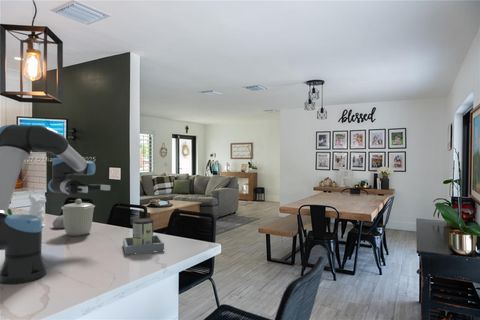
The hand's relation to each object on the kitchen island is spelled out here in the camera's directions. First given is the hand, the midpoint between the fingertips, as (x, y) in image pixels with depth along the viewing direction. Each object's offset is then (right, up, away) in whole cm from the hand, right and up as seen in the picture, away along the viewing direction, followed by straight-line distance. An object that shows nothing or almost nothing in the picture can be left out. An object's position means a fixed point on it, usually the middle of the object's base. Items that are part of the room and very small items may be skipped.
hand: (98, 188), depth 165 cm
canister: (-25, -30, +29) cm, 49 cm away
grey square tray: (+23, -30, 0) cm, 38 cm away
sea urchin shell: (-44, -30, +48) cm, 72 cm away
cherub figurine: (-60, -29, +47) cm, 82 cm away
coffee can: (+23, -30, 0) cm, 38 cm away
